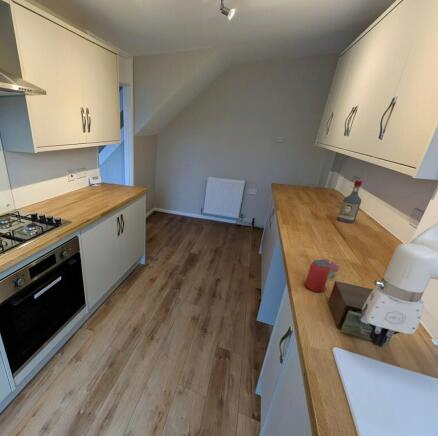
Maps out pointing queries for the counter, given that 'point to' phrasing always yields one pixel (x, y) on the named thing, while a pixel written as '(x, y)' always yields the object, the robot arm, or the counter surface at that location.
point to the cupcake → (332, 266)
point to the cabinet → (346, 299)
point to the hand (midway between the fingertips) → (375, 342)
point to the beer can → (317, 275)
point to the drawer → (357, 325)
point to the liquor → (350, 205)
